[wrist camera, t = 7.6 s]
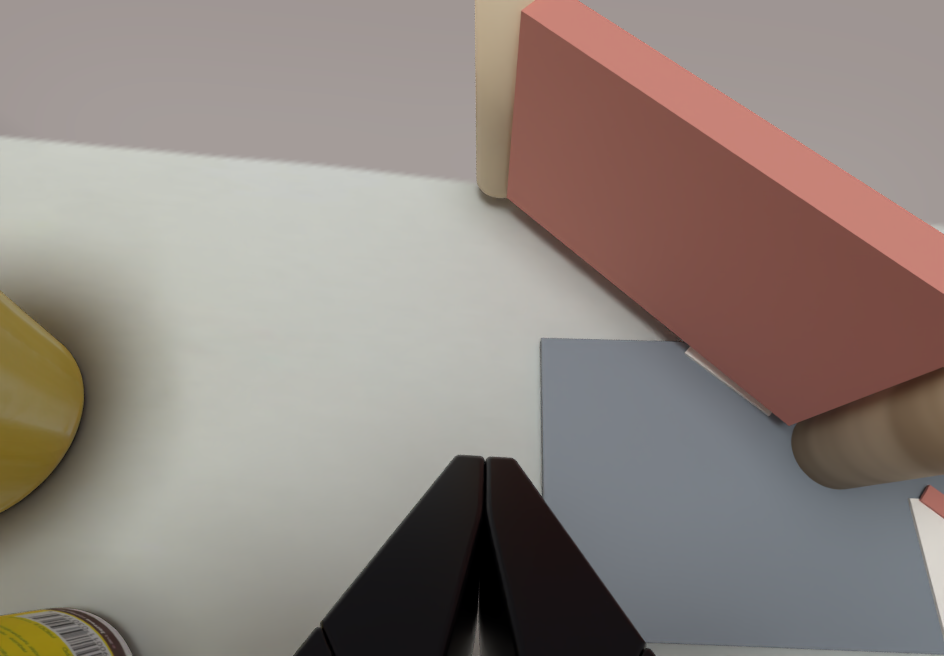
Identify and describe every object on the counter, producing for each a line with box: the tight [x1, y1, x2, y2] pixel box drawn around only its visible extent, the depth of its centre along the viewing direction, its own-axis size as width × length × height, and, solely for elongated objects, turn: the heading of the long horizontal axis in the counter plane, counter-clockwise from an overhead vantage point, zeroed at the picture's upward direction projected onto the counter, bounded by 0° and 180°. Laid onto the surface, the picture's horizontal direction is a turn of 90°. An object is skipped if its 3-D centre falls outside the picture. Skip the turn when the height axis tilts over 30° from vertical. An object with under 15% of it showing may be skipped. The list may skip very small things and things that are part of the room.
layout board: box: [540, 338, 944, 654], centre depth 17 cm, size 21×9×1 cm, turn 88°
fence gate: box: [475, 0, 944, 426], centre depth 15 cm, size 14×2×8 cm, turn 45°
